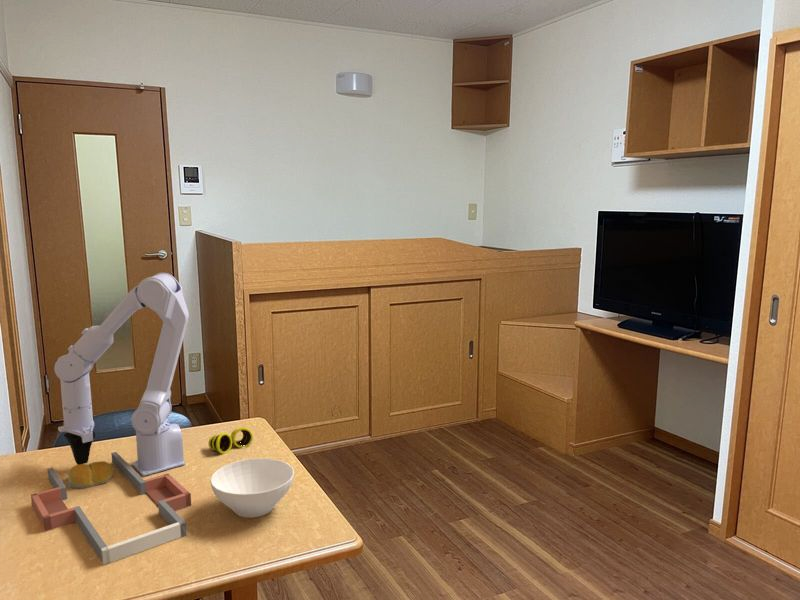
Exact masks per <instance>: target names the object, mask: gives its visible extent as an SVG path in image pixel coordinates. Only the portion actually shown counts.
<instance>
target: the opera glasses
mask: <svg viewBox="0 0 800 600" xmlns="http://www.w3.org/2000/svg"><path fill="white" fill-rule="evenodd" d="M240 432H241V433H242V438H241V439H240V440H238V441H237V440H236V436H237V435H238V433H240ZM253 441H254V434H253V432H252V430H251V429H249V428H247V427H239V428H236V429H234V430H233V431H232V432H231V434H230V433H228V432H221V433H220V434H214V435H212V436H210V437H209V440H208V441H207V442H208V447H209V449H210V450H213V451H216V452H218V453H220V454H222V455H225V454H227V453H229V452H230V451H231V449H232V445H233V444H234V446H236V447H237V448H239V449H242V448H241V447H245V448H248V447H249V446H250V445H251V444H252V442H253ZM240 442H241V443H240ZM241 445H242V446H241ZM243 445H245V446H243ZM247 446H248V447H247ZM228 451H229V452H228Z"/></svg>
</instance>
